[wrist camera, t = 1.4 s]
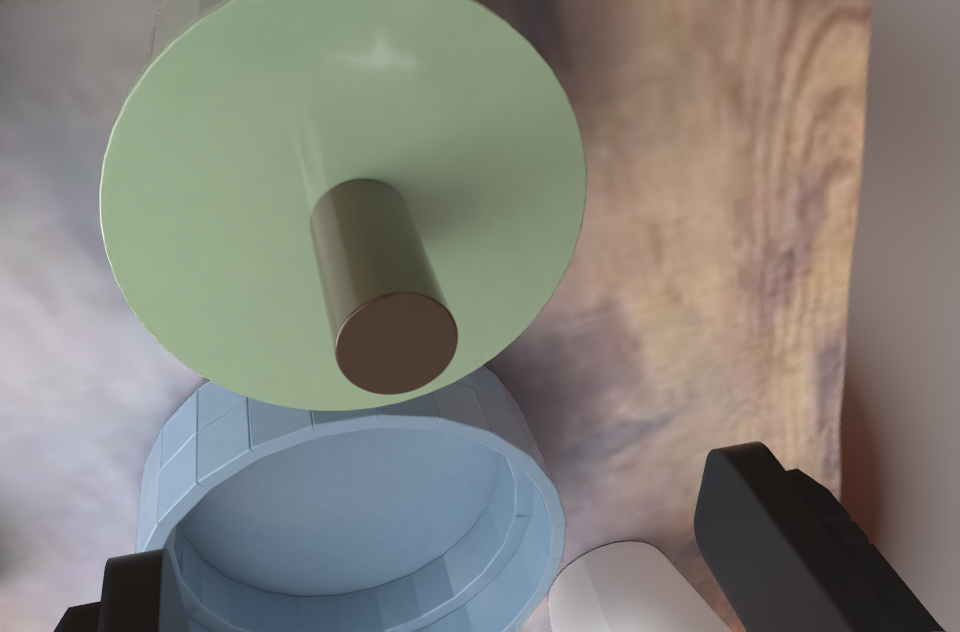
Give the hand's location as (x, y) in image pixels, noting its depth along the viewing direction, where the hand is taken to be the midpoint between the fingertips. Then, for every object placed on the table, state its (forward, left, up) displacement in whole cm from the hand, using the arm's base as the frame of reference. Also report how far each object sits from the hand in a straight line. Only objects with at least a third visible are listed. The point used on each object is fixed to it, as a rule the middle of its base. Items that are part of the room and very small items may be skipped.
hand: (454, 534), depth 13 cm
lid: (0, 0, -10) cm, 10 cm away
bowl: (+15, +8, -19) cm, 25 cm away
